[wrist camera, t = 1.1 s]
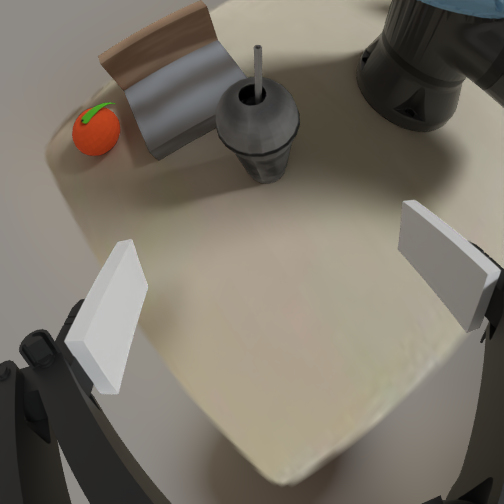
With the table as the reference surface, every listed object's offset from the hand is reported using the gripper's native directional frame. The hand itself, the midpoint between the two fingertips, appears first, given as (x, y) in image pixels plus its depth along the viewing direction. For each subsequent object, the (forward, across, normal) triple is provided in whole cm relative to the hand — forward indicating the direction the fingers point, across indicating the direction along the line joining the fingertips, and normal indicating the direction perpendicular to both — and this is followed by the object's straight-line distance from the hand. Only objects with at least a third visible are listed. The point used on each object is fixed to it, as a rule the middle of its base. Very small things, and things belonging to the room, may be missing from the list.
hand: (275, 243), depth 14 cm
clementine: (+32, -19, +4) cm, 37 cm away
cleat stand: (+32, -6, +6) cm, 33 cm away
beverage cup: (+24, +2, -3) cm, 24 cm away
